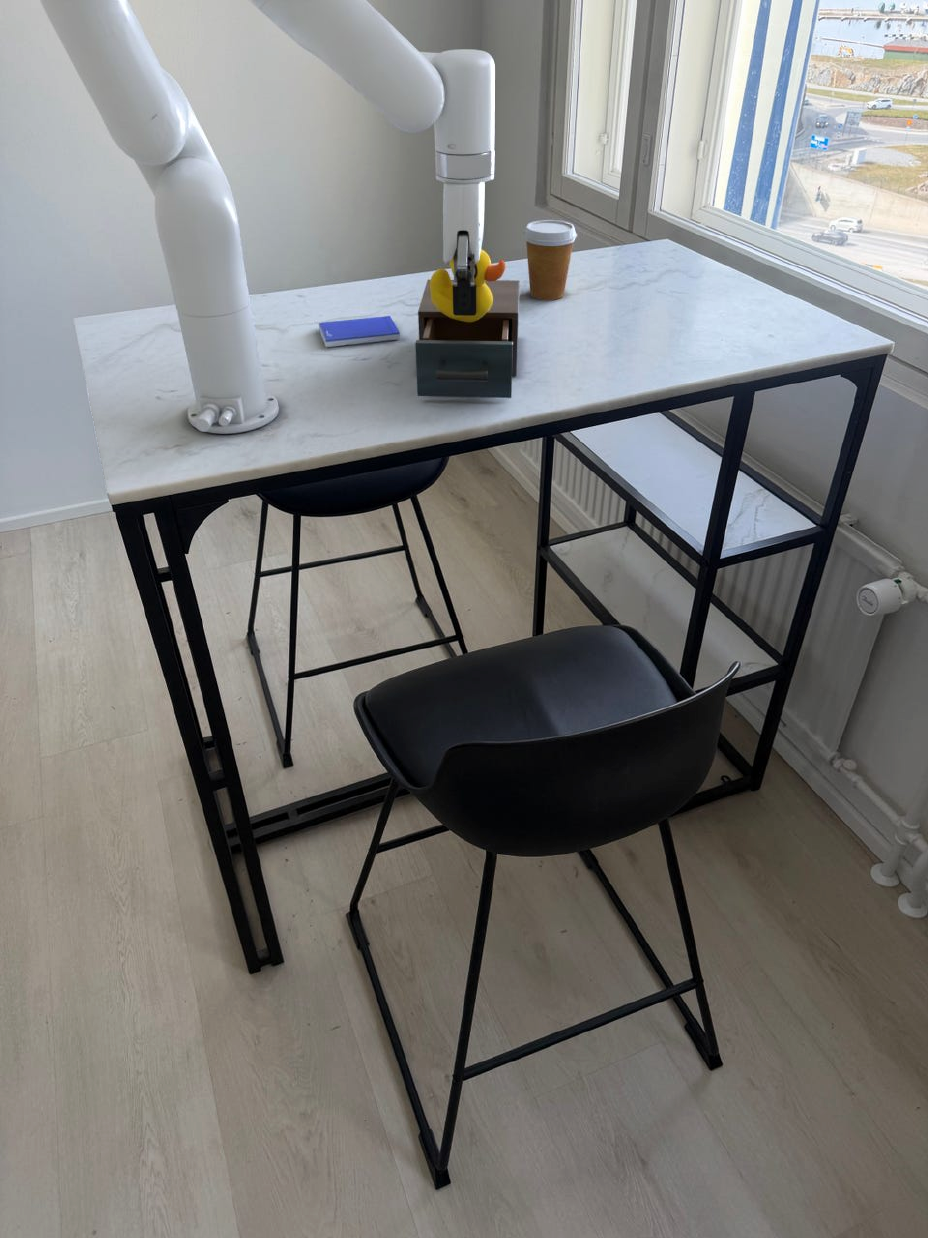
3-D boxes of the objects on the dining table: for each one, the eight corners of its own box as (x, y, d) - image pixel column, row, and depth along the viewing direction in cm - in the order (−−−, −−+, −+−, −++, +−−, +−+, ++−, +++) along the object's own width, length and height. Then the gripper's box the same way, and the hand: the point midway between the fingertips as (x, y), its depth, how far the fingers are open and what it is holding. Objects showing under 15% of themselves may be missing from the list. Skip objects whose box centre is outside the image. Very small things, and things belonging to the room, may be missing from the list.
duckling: (511, 320, 123) (513, 246, 117) (495, 332, 119) (496, 257, 113) (442, 308, 127) (440, 236, 121) (423, 319, 124) (421, 246, 117)
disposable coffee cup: (574, 302, 158) (579, 233, 151) (522, 303, 158) (524, 233, 151) (570, 286, 166) (574, 219, 158) (520, 286, 166) (522, 219, 158)
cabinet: (516, 376, 133) (518, 312, 127) (420, 374, 134) (417, 311, 127) (517, 340, 144) (519, 280, 138) (429, 339, 145) (427, 279, 139)
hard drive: (325, 339, 141) (399, 331, 144) (318, 321, 147) (389, 314, 150) (326, 348, 142) (400, 340, 145) (319, 330, 148) (390, 323, 151)
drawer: (510, 413, 121) (511, 359, 116) (413, 412, 121) (410, 357, 116) (513, 360, 135) (514, 310, 130) (426, 359, 136) (424, 308, 131)
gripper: (441, 151, 118) (444, 286, 129) (429, 180, 105) (434, 328, 116) (496, 151, 117) (495, 286, 129) (491, 180, 104) (490, 328, 115)
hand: (466, 304), depth 122 cm, fingers closed on duckling, 6 cm apart
